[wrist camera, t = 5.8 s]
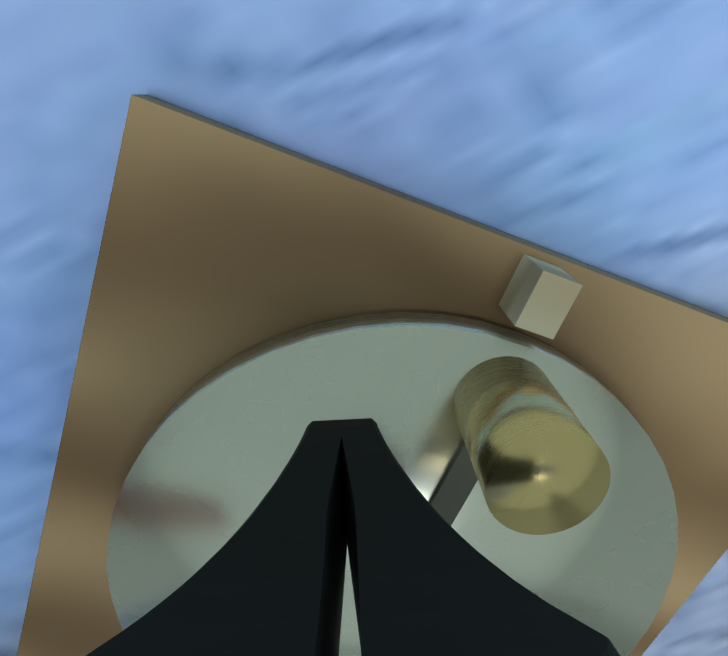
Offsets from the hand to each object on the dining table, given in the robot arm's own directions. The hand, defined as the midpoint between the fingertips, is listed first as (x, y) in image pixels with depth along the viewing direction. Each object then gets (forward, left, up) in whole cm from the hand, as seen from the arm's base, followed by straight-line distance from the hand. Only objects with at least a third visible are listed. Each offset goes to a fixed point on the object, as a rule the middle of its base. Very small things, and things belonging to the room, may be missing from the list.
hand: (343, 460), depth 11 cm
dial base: (-5, -3, -4) cm, 7 cm away
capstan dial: (-5, -3, -3) cm, 7 cm away
